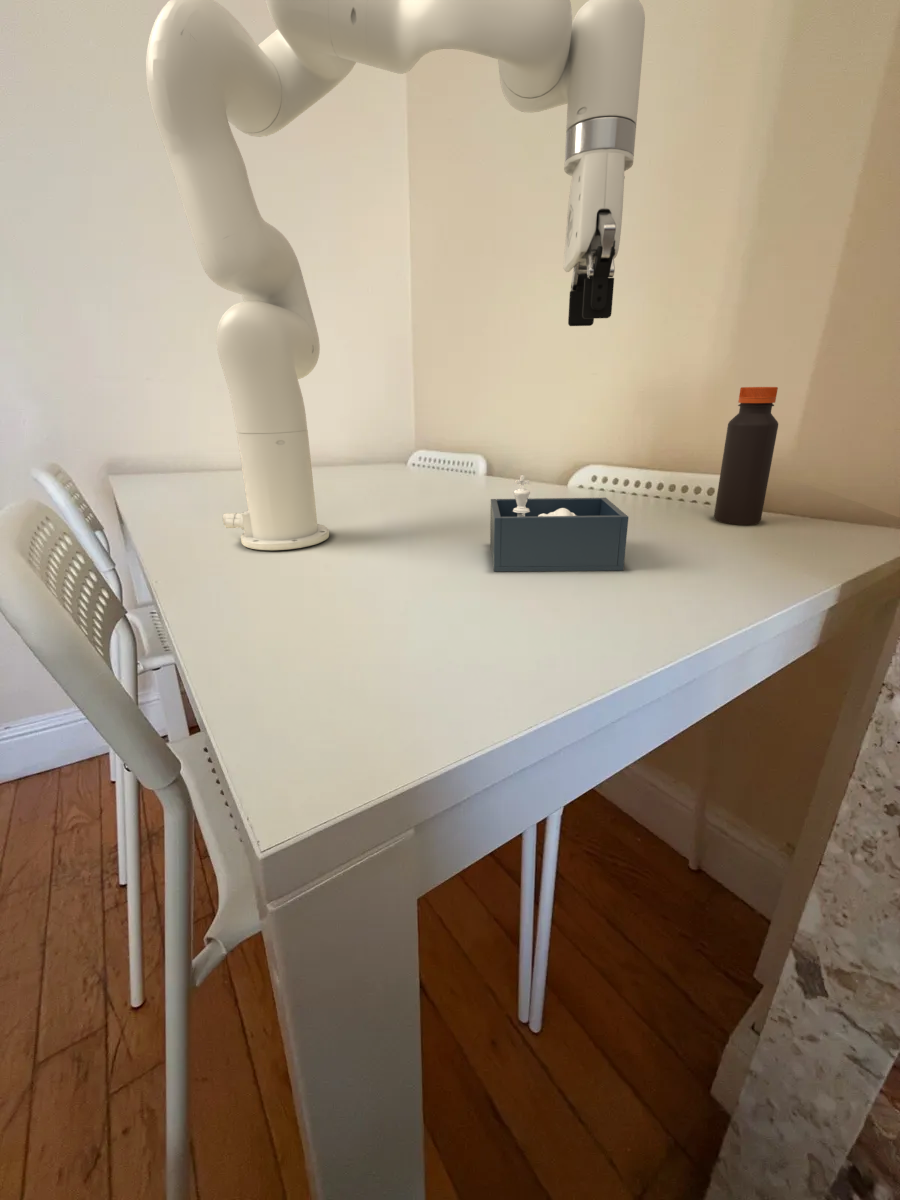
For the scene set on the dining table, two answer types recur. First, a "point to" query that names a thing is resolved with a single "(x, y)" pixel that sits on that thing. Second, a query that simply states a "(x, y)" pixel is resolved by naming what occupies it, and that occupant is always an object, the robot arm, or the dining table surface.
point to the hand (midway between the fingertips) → (588, 322)
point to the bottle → (747, 458)
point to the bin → (558, 535)
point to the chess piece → (521, 497)
